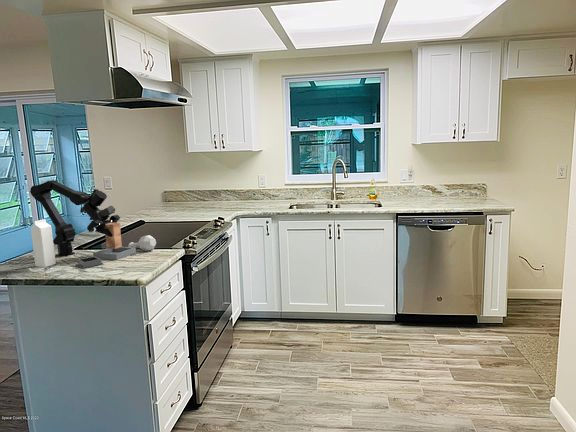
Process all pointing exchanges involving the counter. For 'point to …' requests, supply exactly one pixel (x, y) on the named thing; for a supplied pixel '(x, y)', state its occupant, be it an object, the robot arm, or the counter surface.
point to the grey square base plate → (88, 262)
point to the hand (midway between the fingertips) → (115, 235)
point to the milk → (43, 244)
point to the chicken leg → (144, 243)
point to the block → (116, 238)
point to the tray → (115, 253)
